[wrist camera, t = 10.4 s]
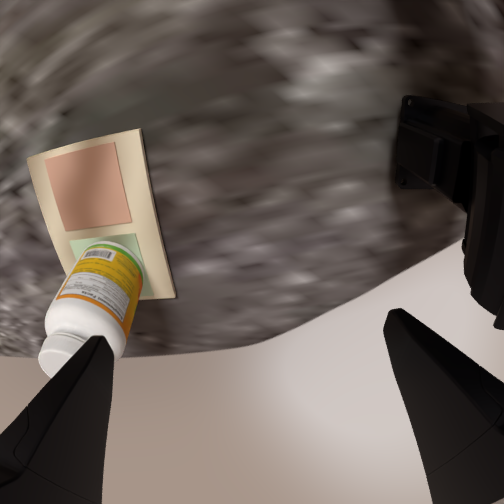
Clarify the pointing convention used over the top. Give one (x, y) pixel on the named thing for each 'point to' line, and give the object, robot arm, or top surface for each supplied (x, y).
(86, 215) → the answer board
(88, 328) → the supplement bottle
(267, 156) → the top surface
